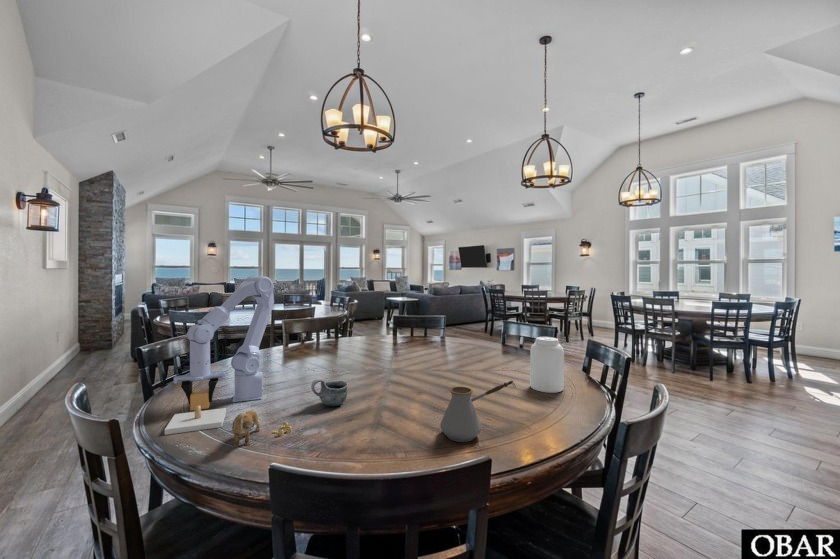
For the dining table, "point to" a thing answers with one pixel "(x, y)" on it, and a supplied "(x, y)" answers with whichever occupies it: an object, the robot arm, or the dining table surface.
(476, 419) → the coffee pot
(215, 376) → the robot arm
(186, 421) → the plate
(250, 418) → the lion figurine
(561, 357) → the white jar
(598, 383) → the dining table surface
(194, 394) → the orange cube
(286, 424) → the dice set
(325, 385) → the mug
